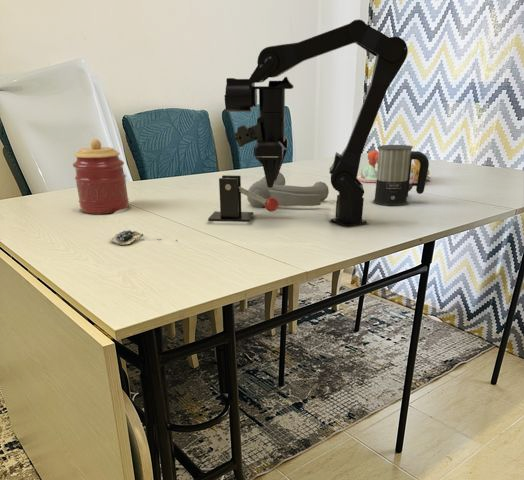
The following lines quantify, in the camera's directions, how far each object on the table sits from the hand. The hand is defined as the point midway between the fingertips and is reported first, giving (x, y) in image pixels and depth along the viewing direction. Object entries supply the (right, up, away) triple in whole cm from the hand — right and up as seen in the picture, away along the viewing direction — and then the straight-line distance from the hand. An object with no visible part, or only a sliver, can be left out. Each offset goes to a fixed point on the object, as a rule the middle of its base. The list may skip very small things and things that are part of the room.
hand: (272, 183), depth 123 cm
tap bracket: (-10, -7, +5) cm, 13 cm away
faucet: (+6, +2, +23) cm, 24 cm away
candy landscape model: (+43, +19, +54) cm, 71 cm away
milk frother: (+35, +3, +25) cm, 43 cm away
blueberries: (-31, -14, -14) cm, 37 cm away
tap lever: (-6, -4, +2) cm, 7 cm away
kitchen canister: (-45, -2, +17) cm, 48 cm away
